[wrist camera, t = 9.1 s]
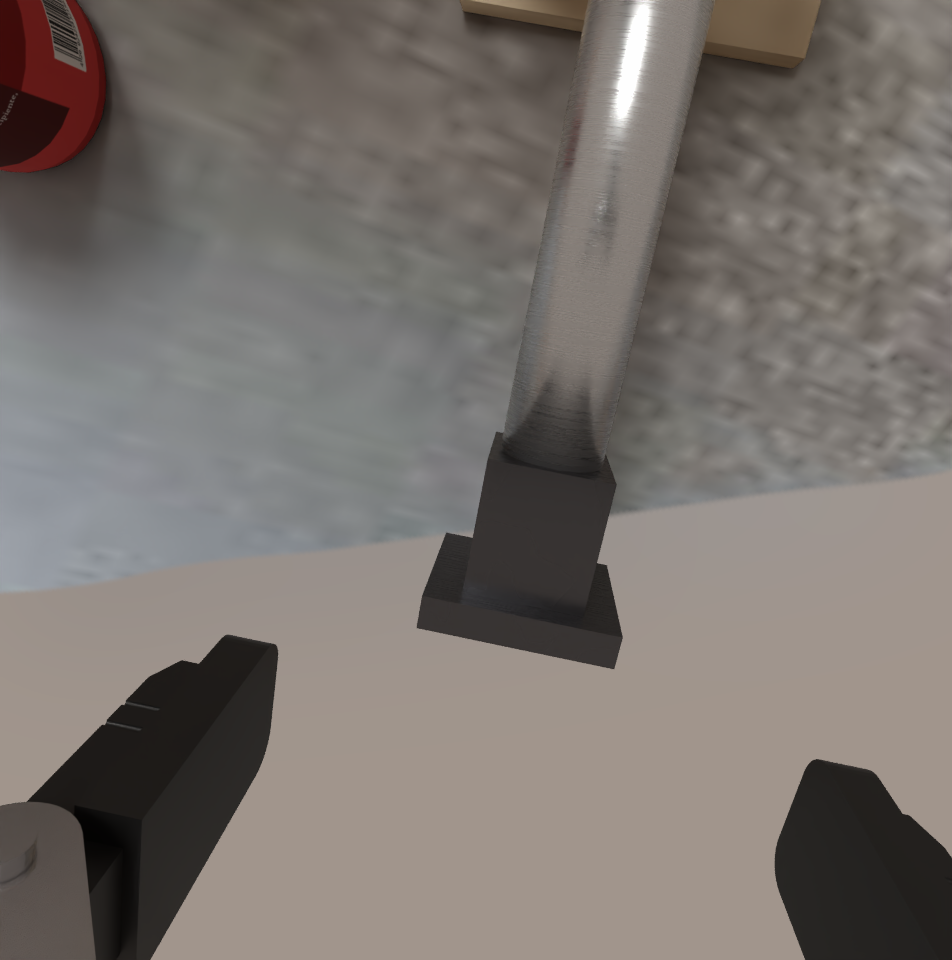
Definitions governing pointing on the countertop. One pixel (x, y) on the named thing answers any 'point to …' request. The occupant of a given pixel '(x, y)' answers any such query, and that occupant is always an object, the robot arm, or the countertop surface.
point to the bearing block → (732, 31)
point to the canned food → (47, 83)
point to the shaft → (576, 347)
